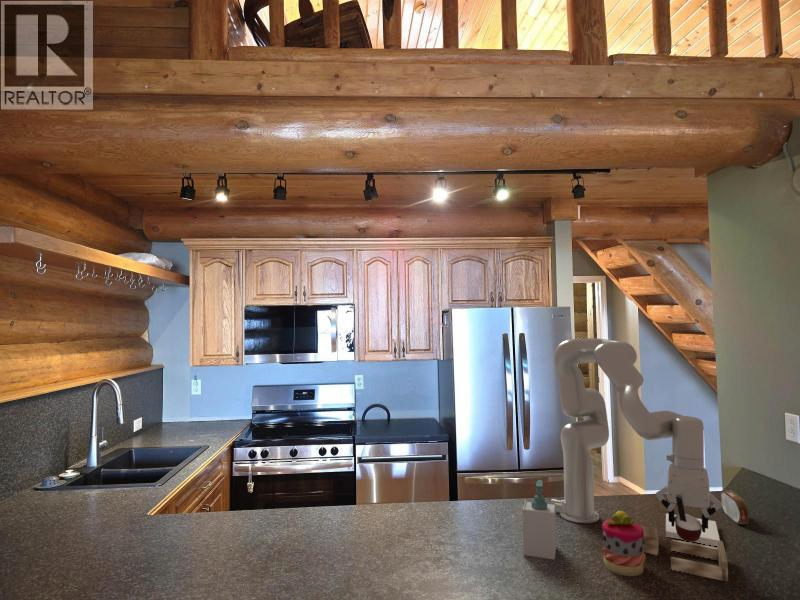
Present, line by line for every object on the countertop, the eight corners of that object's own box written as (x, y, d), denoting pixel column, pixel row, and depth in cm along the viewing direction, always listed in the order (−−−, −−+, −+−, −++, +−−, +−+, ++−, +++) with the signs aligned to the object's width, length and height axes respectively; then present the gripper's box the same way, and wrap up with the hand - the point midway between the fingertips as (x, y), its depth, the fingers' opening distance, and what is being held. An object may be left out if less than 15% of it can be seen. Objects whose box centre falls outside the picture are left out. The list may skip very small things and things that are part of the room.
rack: (671, 569, 134) (670, 550, 135) (670, 549, 146) (670, 532, 146) (728, 581, 128) (727, 561, 129) (723, 559, 140) (722, 541, 140)
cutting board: (665, 537, 154) (665, 531, 154) (666, 519, 168) (666, 513, 168) (720, 547, 148) (719, 540, 148) (715, 527, 162) (715, 521, 162)
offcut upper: (640, 544, 145) (640, 535, 145) (639, 534, 152) (639, 525, 152) (658, 547, 143) (658, 538, 144) (656, 537, 150) (656, 528, 150)
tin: (750, 529, 161) (749, 502, 161) (739, 528, 162) (738, 501, 162) (729, 511, 176) (728, 486, 176) (719, 510, 176) (718, 486, 177)
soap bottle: (556, 546, 148) (555, 480, 149) (554, 560, 140) (554, 490, 141) (525, 542, 151) (525, 477, 152) (523, 555, 143) (522, 487, 143)
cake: (596, 557, 142) (595, 503, 142) (634, 557, 141) (633, 503, 142) (610, 576, 131) (610, 517, 132) (652, 577, 131) (651, 518, 131)
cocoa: (693, 534, 143) (693, 491, 143) (710, 543, 137) (710, 498, 137) (663, 535, 141) (663, 491, 142) (679, 544, 135) (680, 498, 136)
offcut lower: (638, 553, 145) (638, 544, 145) (639, 542, 152) (639, 533, 152) (657, 557, 143) (657, 548, 143) (658, 546, 150) (658, 537, 150)
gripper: (652, 461, 140) (652, 526, 140) (726, 470, 132) (726, 540, 132) (653, 454, 147) (653, 516, 146) (723, 463, 139) (724, 529, 138)
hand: (688, 527), depth 139 cm, fingers closed on cocoa, 6 cm apart
